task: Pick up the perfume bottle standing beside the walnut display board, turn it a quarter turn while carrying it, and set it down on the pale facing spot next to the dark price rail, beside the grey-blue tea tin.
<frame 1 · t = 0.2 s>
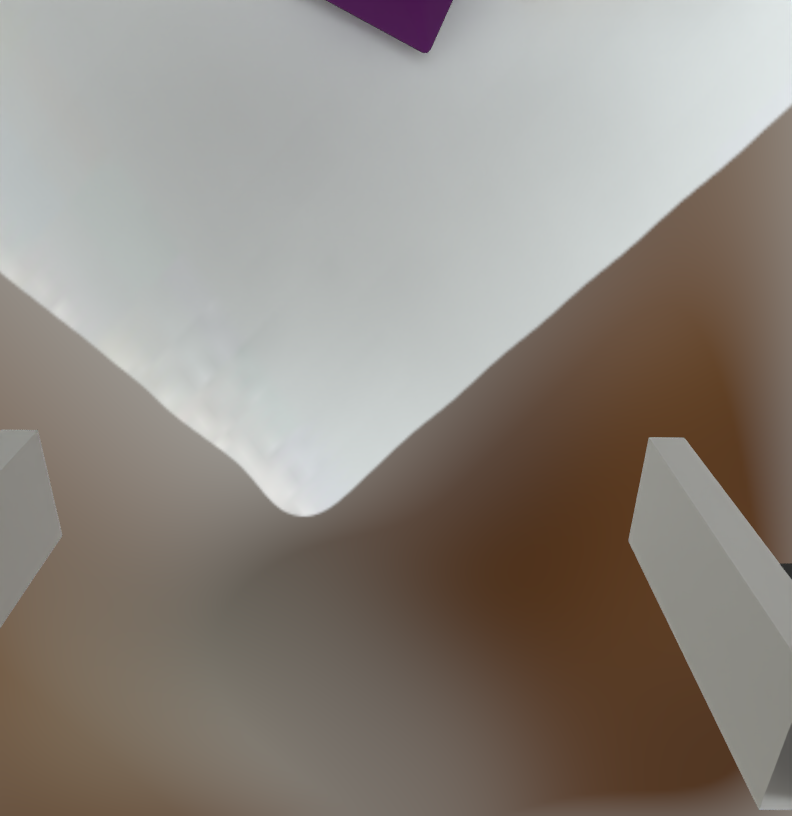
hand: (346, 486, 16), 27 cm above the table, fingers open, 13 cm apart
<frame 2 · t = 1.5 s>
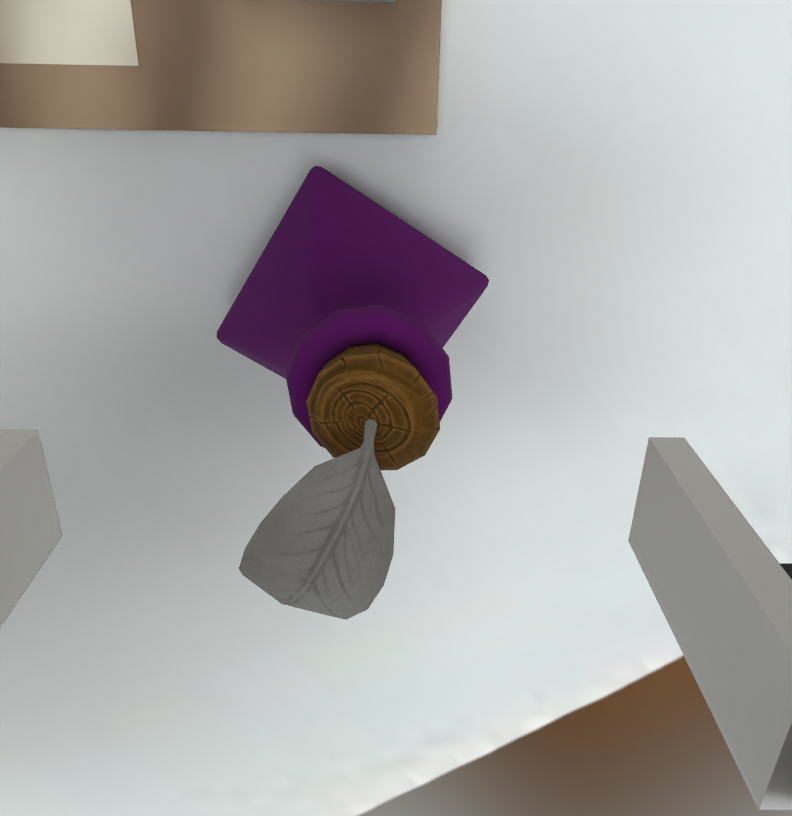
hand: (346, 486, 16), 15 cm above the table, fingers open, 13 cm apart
perfume bottle: (353, 282, 30), on the table
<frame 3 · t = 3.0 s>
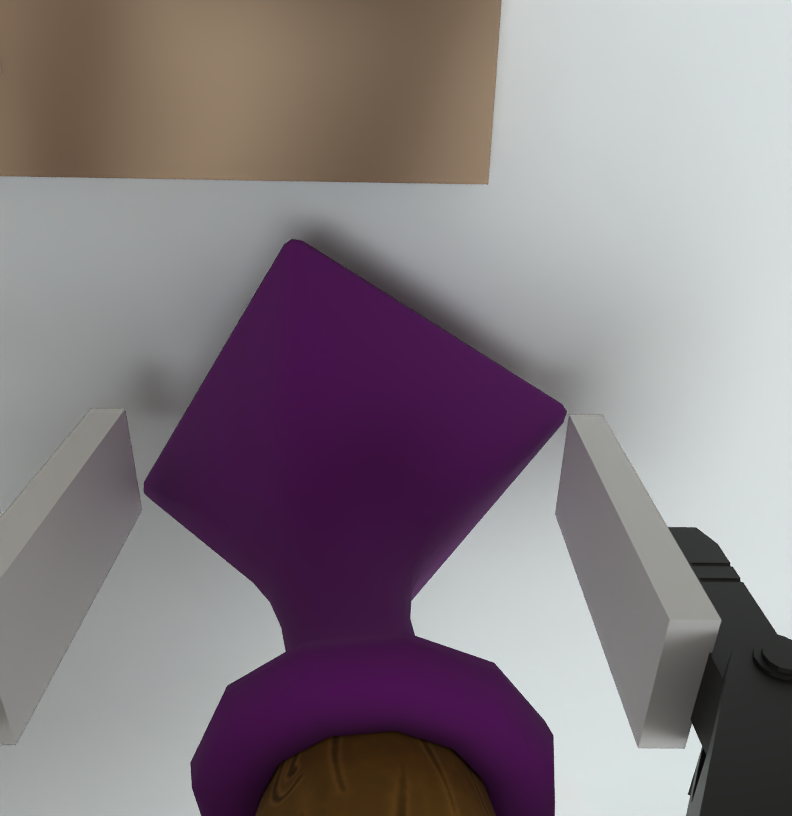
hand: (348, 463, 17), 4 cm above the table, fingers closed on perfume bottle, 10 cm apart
perfume bottle: (355, 390, 20), on the table, touching gripper
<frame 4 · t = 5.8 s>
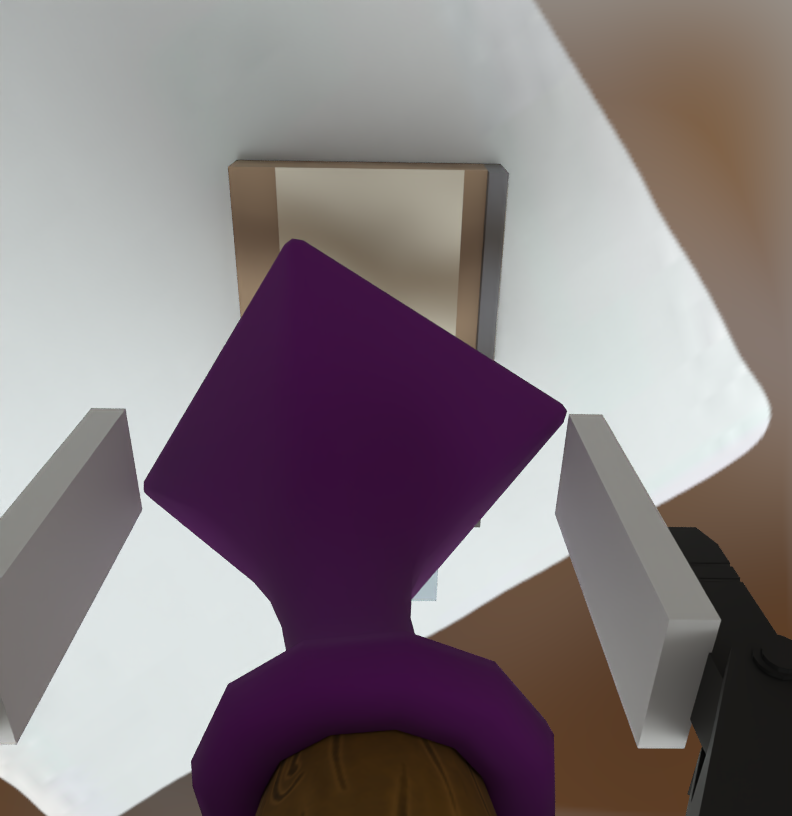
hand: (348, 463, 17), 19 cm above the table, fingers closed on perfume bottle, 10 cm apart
tea tin: (380, 455, 37), point 2 cm above the table, touching display board
display board: (361, 348, 36), on the table
perfume bottle: (356, 390, 20), point 15 cm above the table, touching gripper
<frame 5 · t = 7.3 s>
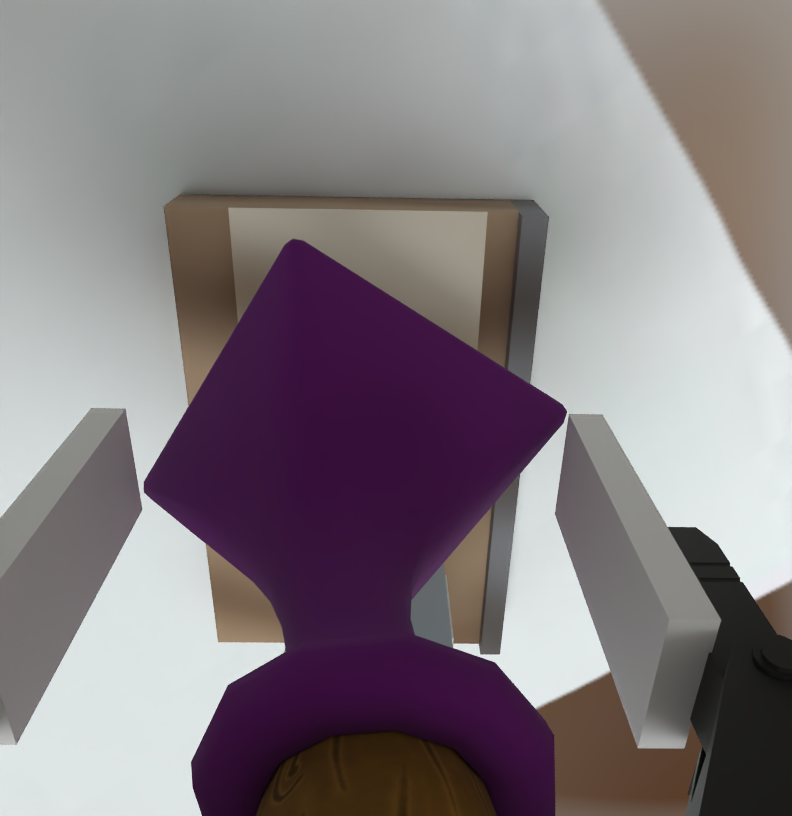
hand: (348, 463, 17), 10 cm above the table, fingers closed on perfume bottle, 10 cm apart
tea tin: (373, 567, 29), point 2 cm above the table, touching display board
display board: (348, 433, 28), on the table
perfume bottle: (356, 390, 20), point 6 cm above the table, touching gripper
when the fingers open (7 cm above the table, at t = 8.5 s): perfume bottle drops 1 cm, resting on display board.
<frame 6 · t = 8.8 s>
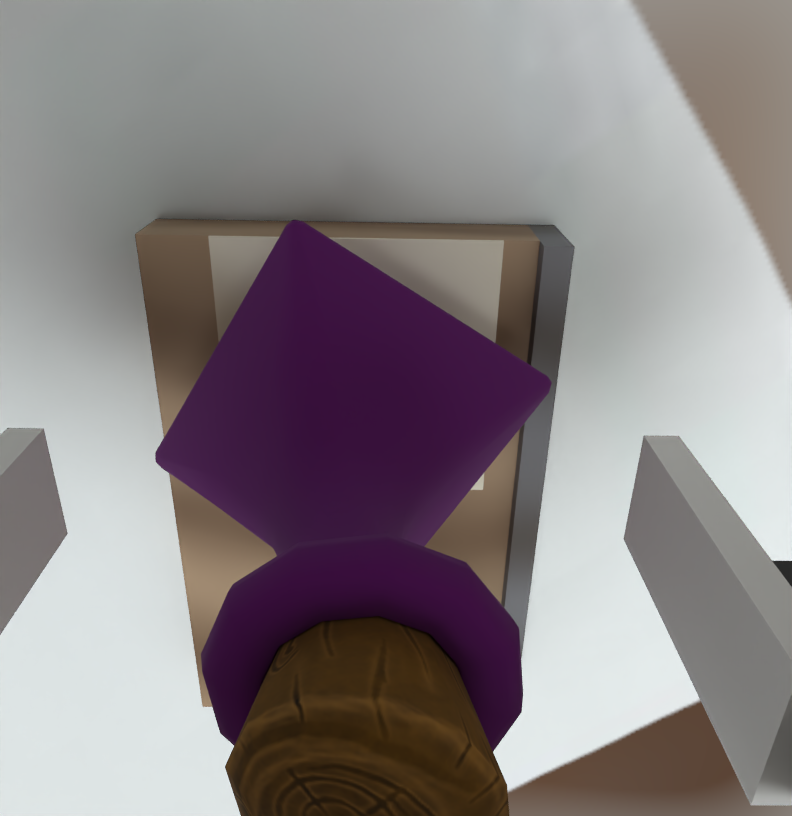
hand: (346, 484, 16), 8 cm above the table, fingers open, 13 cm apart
display board: (346, 479, 25), on the table
perfume bottle: (355, 369, 21), point 2 cm above the table, touching display board
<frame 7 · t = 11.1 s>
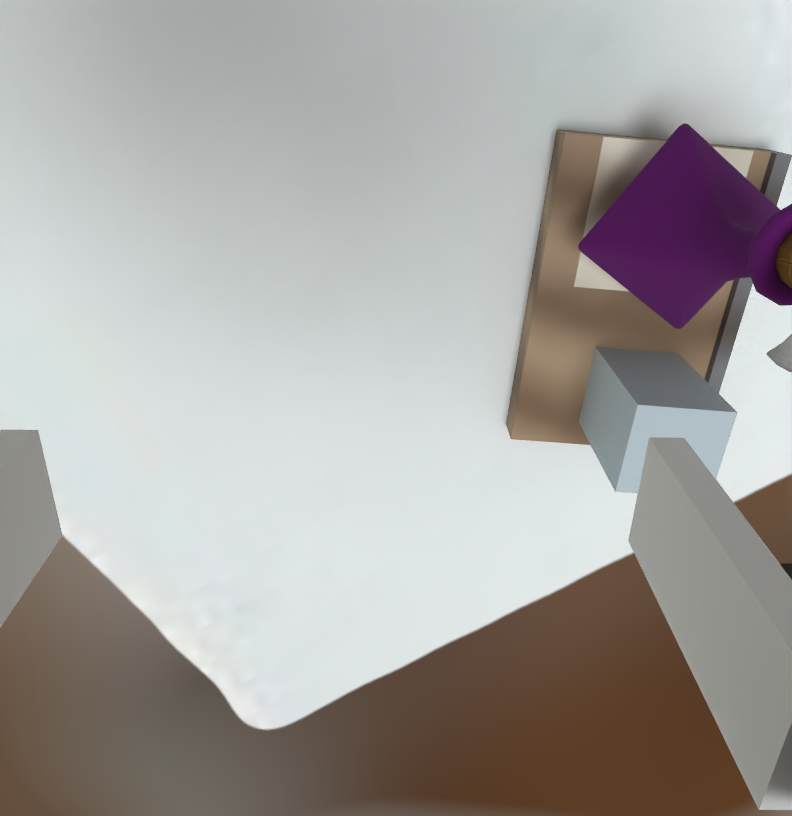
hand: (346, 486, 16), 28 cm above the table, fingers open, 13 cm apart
tea tin: (627, 388, 44), point 2 cm above the table, touching display board
display board: (619, 297, 43), on the table
perfume bottle: (658, 219, 39), point 2 cm above the table, touching display board
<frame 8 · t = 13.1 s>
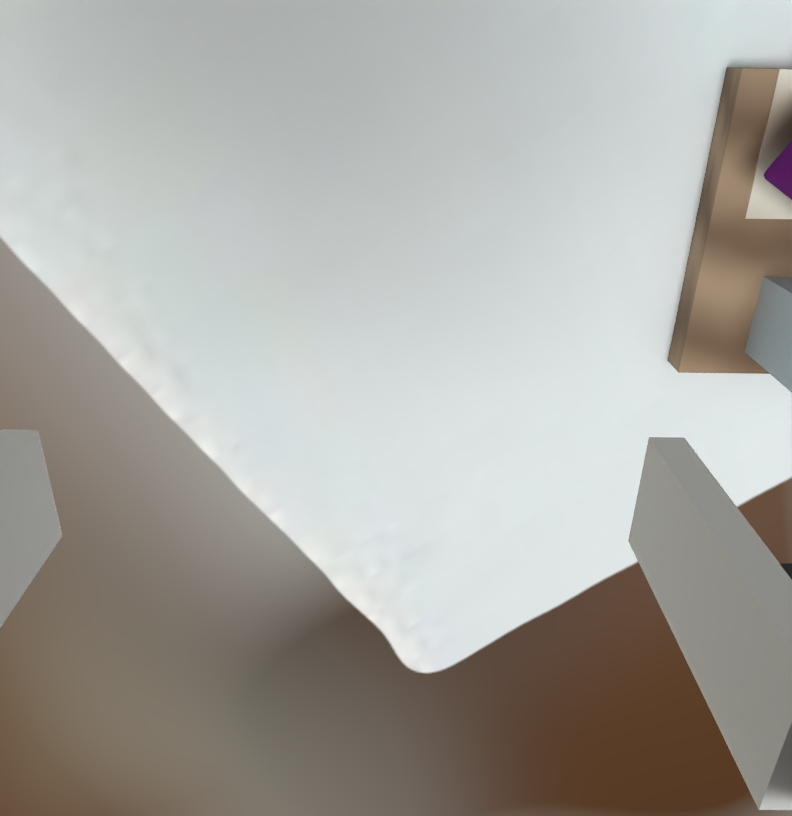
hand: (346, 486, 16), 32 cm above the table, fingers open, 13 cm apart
display board: (782, 228, 45), on the table
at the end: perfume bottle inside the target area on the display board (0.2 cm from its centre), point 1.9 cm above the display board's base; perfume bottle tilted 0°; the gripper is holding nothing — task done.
